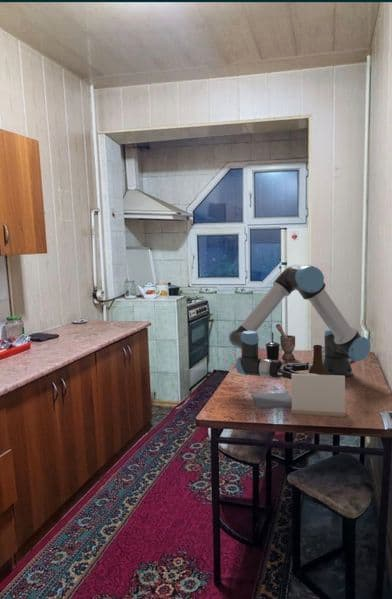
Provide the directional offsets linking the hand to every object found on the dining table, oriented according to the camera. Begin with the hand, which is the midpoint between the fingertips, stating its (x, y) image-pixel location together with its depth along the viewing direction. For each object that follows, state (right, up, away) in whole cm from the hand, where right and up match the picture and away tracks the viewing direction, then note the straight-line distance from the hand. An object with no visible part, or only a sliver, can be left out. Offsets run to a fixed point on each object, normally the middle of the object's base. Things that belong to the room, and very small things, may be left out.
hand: (320, 373), depth 189 cm
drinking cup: (-11, -7, +54) cm, 55 cm away
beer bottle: (-1, -13, +2) cm, 13 cm away
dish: (+27, -4, +73) cm, 78 cm away
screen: (-4, -14, -10) cm, 18 cm away
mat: (-19, -13, +4) cm, 23 cm away
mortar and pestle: (0, -4, +77) cm, 77 cm away
